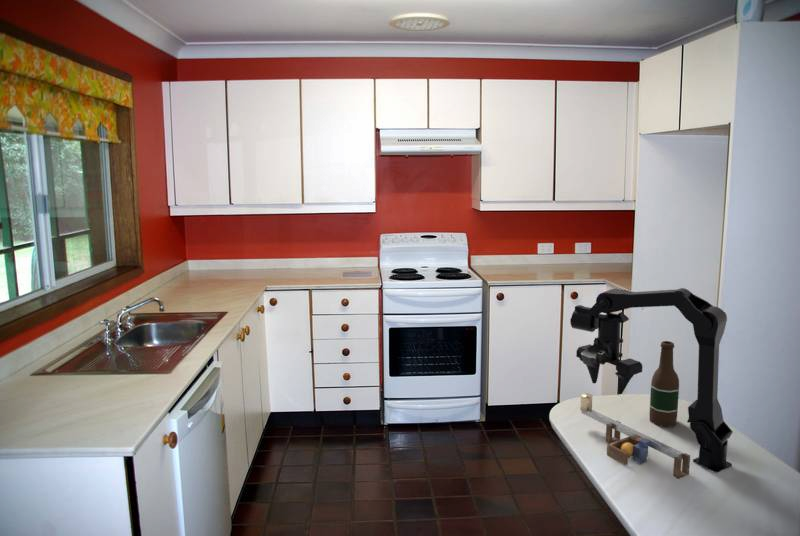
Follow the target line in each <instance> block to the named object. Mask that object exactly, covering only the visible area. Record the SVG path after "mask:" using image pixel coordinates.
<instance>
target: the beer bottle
mask: <svg viewBox="0 0 800 536" xmlns="http://www.w3.org/2000/svg"><path fill="white" fill-rule="evenodd" d="M659 346H660V349H661V350H660V356H659V365H658V367H657V369H656V370H655V371H654V373H653V375H652V378H651V383H650V397H649V422H651V423H652V424H654V425H655V426H660V427H666V428H670V427H674V426H676V425H677V422H678V421H677V420H678V419H677V418H678V411H679V410H678V409H679V393H680V378H679V375H678V374H677V372H676V371H675V366H674V348H675V343H674V342H672V341H668V340H663V341H661V343H660V345H659Z"/></svg>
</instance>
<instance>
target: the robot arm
mask: <svg viewBox="0 0 800 536" xmlns="http://www.w3.org/2000/svg"><path fill="white" fill-rule="evenodd" d="M653 307H675V308H676V309H678V311H679V312H680V314H682V316H683V317H684V319H685V320H687V321H688V322H689V323H691V324H692V329H693V333H694V337H695V340H696V341H697V344H698V365H697V366H698V367H697V369H698V370H697V399H695V400H694V401H693V402H692V403H691V404H690V405H688V406H687V413H688V419H687V421H686V422H687V423H689V427H690V430H691V431H692V432H693V433H694V434H695V435H694V436H695V437H696V441H697V444H698V445H699V449H698V456H697V457H695V458H694V459H692V460H693V463H695V464H697V465H699V466H701V467H704V468H706V469H707V470H710V471H711V472H713V473H720V472H722V471H723V470H726V469H728V468H731V467H732V466H733V464H732V463H731V462H729V461H727V455H728V445H729V444H728V443H729V440H728V439H730V437H731V436H732V434H733V430H732V429H731V428H730V426H729V425H728V424H727V423H726V421H724V417H723V410H722V406H721V404H720V402H719V400H718V399H719V398H718V391H719V388H718V387H719V361H720V360H719V358H720V355H719V354H720V343H721V341H722V339H723V335H724V333H725V329H726V326H727V321H728V317H727V313H726V312H725V311H724V310H723V309H721V308H720V307H718V306H714V305H713V304H711V303H710V302H709V301H707V300H706V299H703V298H702V297H700V296H698V295H695V294H694V293H692V292H691V291H690V290H689V289H687V288H685V287H683V288H682V287H680V288H678V289H677V288H676V289H663V290H662V289H661V290H646V291H630V290H627V289H622V288H620V289H619V288H610V289H608V290H606V291H603V292H600V293H599V294H598V295H597V296H596V299H595V303H594V304H593V305H592V306H591V307H589V306H584V305H582V304H577V305H575V306H574V310H573V312H572V314H571V316H570V319H569V320H570V321H569V323H570V327H571V328H572V329H576V330H579V331H584V332H590V333H594V332H595V331H596V330H597V337H594V340H593V343H592V344H586V345H582V346H579V347H577V349H576V355H575V356H576V358H578V359H579V360H580V361H581V362H582V364H584V365H586V368H587V370H588V374H589V376H590V380H591V382H592V384H596V383H597V382H598V379H599V374H600V373H599V371H600V368H601V365H605V364H610V365H613V366H615V370H616V372H614V374H615V375H616V377H617V392H618V393H617V395H622V394H624V392H625V389H626V387H627V386H628V384H629V383H630V381H631V379H632V378H633V377H634V376H635V375H638V374H640V373H643V364H642V362H641V361H638V360H636V359H633V358H625V359H623V360H622V359H620V358H622V357H623V352H621V351H620V345H621V344H623V343H624V338H621V324H624V323H626V322H627V321H630V318H629V317H628V316H627V315H626V314H625V313H624V312H623V311H624V310H627V309H631V308H632V309H633V308H653ZM620 311H621V312H620ZM616 312H617V313H616Z"/></svg>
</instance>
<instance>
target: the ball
mask: <svg viewBox="0 0 800 536" xmlns="http://www.w3.org/2000/svg"><path fill="white" fill-rule="evenodd" d="M621 450H622V451H624V452H626V453H628V458H631V457H632V458H633V444H631V443H624V444H623V445H622V446H621Z"/></svg>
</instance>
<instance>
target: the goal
mask: <svg viewBox="0 0 800 536" xmlns="http://www.w3.org/2000/svg"><path fill="white" fill-rule="evenodd" d="M624 443H631V444H633V445H636V444H639V441H637V440H635V439H633V438H631V437H629V436H627V437H624V438H620V440H617V441H615V442H612V443H608V444H607V445H606V446H607V447H606V449H607V450H606V456H608V457H610V458H611V459H613V460H615V461H617V462H619V463H620V464H622V465H625V466H627V465H629V464H628V461H629V460H628V459H629V457H628V453H626V452H624V451H622V450H621V446H622V445H623V444H624ZM648 456H649V447H648V448H647V458H648Z"/></svg>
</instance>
